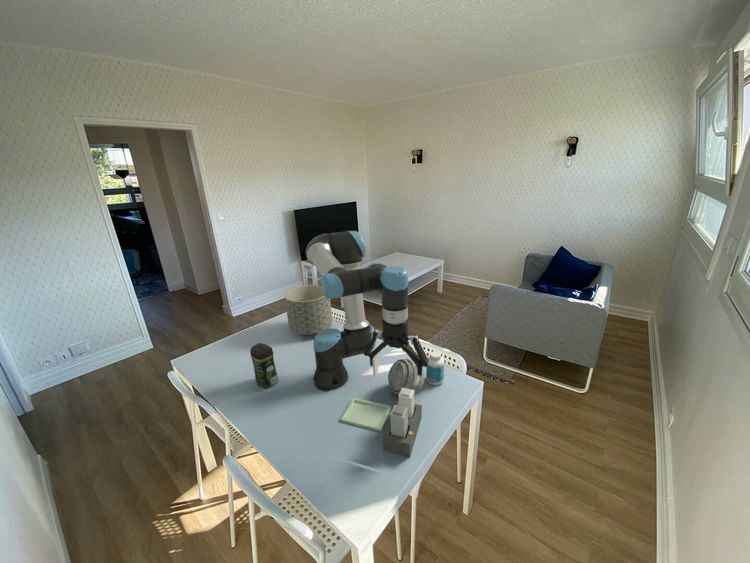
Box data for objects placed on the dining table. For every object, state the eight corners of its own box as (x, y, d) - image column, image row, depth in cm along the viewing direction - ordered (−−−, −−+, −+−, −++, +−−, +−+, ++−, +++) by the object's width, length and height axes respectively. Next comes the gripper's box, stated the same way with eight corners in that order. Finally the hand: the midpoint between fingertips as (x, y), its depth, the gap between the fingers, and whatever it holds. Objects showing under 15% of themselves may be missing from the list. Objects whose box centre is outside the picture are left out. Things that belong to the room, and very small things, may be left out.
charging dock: (383, 451, 101) (381, 416, 96) (398, 412, 117) (397, 381, 112) (409, 458, 98) (409, 423, 93) (421, 418, 114) (422, 385, 109)
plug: (391, 443, 102) (390, 413, 98) (395, 432, 106) (394, 403, 101) (404, 446, 100) (404, 416, 96) (407, 436, 104) (407, 406, 100)
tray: (340, 422, 114) (340, 419, 113) (353, 400, 124) (353, 397, 124) (381, 432, 108) (381, 429, 108) (391, 409, 119) (391, 406, 118)
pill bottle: (443, 387, 130) (444, 359, 125) (425, 385, 131) (426, 358, 127) (443, 376, 137) (444, 349, 132) (426, 374, 138) (427, 348, 134)
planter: (282, 339, 172) (276, 300, 164) (300, 319, 195) (295, 284, 187) (325, 342, 168) (321, 302, 160) (337, 321, 191) (334, 285, 183)
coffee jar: (253, 382, 138) (245, 347, 131) (268, 373, 143) (262, 339, 137) (265, 391, 132) (258, 354, 126) (281, 381, 138) (275, 345, 131)
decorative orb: (383, 386, 132) (382, 356, 127) (413, 377, 137) (413, 348, 132) (398, 409, 119) (397, 377, 114) (430, 398, 124) (431, 367, 119)
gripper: (351, 319, 91) (355, 377, 99) (435, 331, 83) (432, 394, 90) (360, 308, 98) (364, 364, 105) (439, 318, 89) (437, 378, 97)
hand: (395, 378), depth 98 cm, fingers open, 13 cm apart
